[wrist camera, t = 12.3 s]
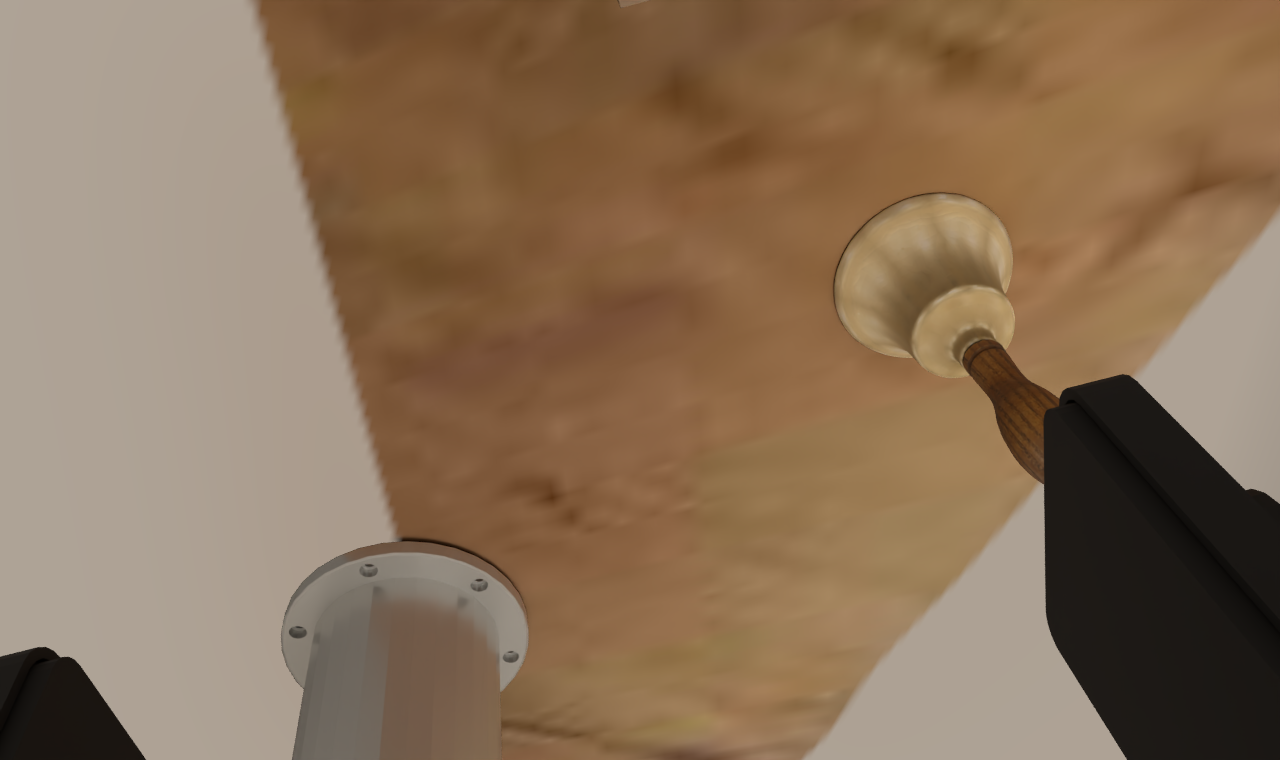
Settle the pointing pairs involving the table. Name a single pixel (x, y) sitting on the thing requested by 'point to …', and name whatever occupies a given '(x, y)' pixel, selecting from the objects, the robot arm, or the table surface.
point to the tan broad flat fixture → (629, 2)
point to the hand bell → (944, 305)
